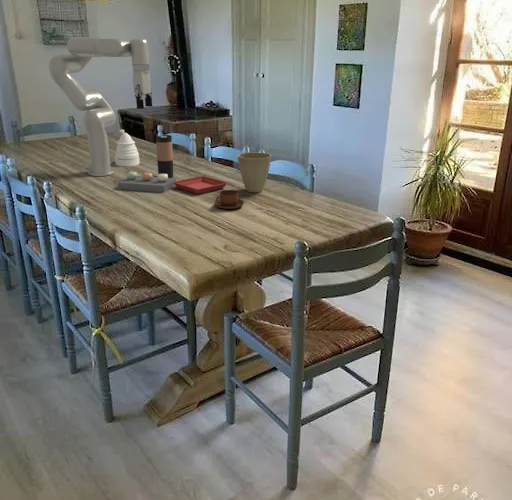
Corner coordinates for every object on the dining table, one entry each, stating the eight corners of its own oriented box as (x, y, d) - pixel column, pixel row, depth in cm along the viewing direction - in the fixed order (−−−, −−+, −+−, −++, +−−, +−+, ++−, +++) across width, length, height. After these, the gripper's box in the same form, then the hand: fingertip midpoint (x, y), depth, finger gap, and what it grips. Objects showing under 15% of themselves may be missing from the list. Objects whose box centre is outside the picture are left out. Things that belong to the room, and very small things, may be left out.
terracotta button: (140, 179, 235) (140, 174, 234) (145, 177, 239) (144, 172, 239) (150, 180, 234) (149, 175, 233) (154, 177, 238) (153, 173, 238)
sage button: (125, 178, 237) (125, 173, 236) (130, 176, 241) (129, 171, 240) (134, 179, 236) (134, 174, 235) (139, 176, 240) (138, 172, 239)
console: (119, 189, 234) (118, 182, 233) (132, 181, 247) (132, 175, 246) (164, 192, 230) (164, 185, 229) (176, 184, 242) (175, 178, 241)
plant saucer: (203, 182, 249) (202, 175, 248) (228, 189, 237) (228, 182, 236) (172, 188, 237) (172, 181, 236) (197, 196, 225) (197, 189, 224)
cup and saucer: (232, 213, 203) (232, 197, 201) (208, 208, 209) (207, 193, 207) (249, 205, 213) (249, 191, 210) (225, 201, 219) (225, 186, 216)
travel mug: (170, 179, 252) (168, 137, 245) (155, 178, 254) (153, 137, 246) (176, 175, 259) (174, 135, 252) (161, 174, 260) (159, 134, 253)
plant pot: (274, 187, 239) (275, 153, 233) (264, 196, 226) (265, 159, 220) (244, 184, 243) (244, 151, 237) (232, 192, 230) (232, 157, 224)
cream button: (156, 180, 234) (155, 175, 233) (160, 178, 238) (159, 173, 237) (165, 181, 233) (165, 176, 232) (169, 178, 237) (169, 174, 236)
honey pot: (110, 164, 281) (107, 131, 274) (124, 160, 292) (122, 127, 285) (130, 167, 276) (127, 132, 269) (144, 162, 287) (141, 129, 281)
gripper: (141, 67, 243) (144, 105, 249) (125, 69, 227) (129, 109, 233) (156, 67, 241) (159, 105, 247) (141, 69, 226) (144, 109, 232)
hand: (144, 107), depth 240 cm, fingers open, 9 cm apart
